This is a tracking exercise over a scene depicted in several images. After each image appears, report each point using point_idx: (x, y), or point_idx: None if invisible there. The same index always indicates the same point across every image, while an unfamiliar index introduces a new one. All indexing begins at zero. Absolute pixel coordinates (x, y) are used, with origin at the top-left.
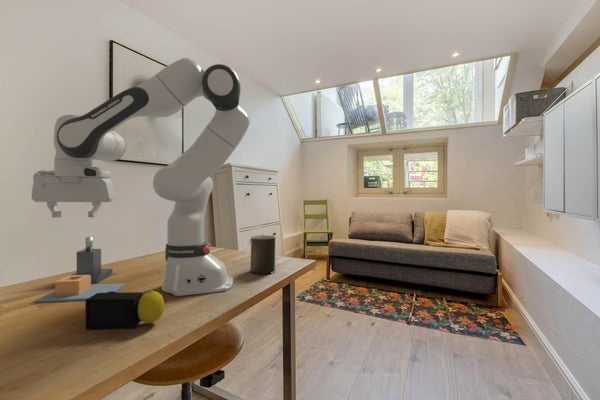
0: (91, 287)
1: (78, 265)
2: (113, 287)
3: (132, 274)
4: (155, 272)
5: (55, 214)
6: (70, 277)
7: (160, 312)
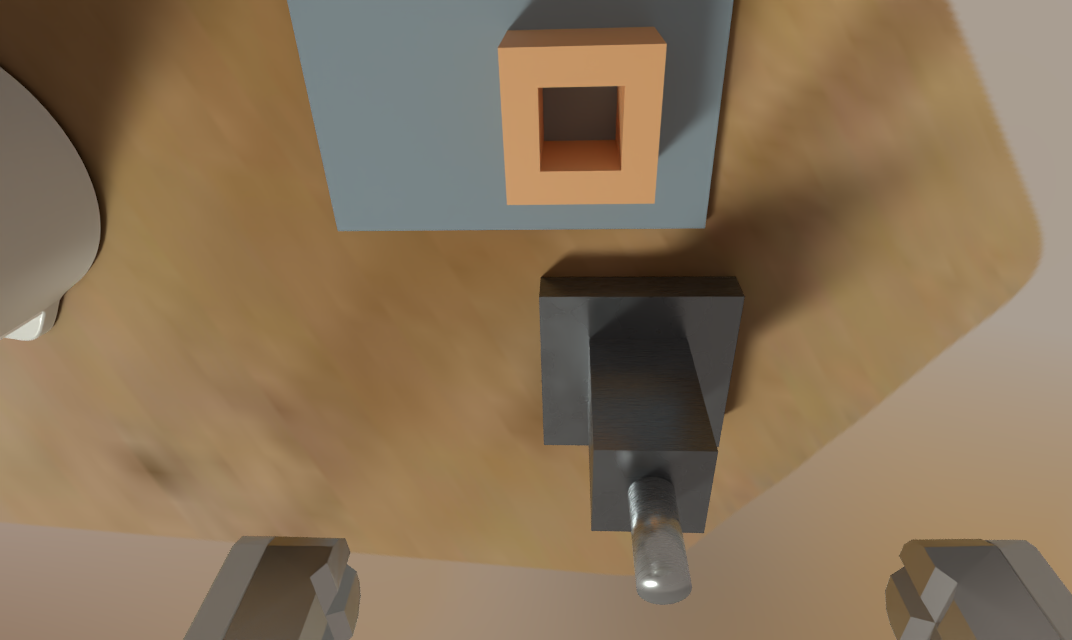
0: None
1: (686, 381)
2: (367, 155)
3: (425, 405)
4: (312, 425)
5: (985, 582)
6: (621, 162)
7: None
